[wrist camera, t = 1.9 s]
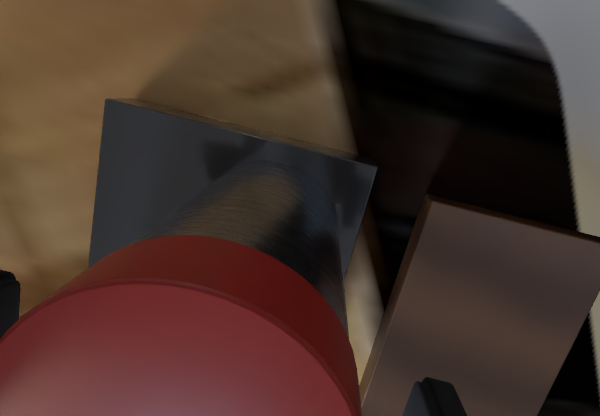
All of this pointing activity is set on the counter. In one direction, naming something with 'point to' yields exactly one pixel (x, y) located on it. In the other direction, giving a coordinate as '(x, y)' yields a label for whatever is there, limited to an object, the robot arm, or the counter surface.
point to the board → (481, 310)
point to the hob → (202, 170)
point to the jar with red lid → (199, 314)
